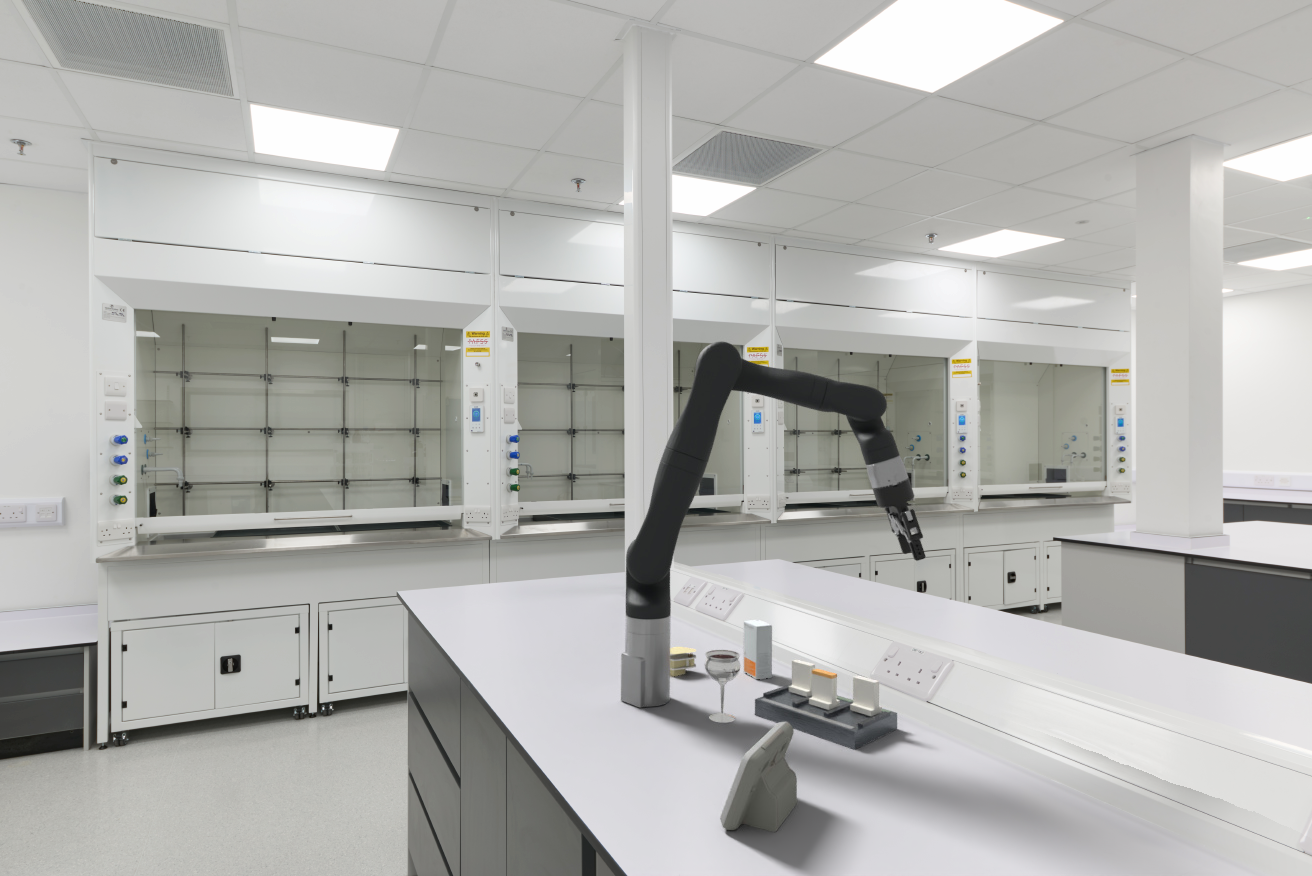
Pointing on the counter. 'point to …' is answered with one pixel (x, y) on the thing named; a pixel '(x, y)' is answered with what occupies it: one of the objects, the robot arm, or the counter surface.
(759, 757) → the digital clock
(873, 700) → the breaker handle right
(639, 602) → the robot arm
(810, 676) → the breaker handle left
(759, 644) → the skincare box
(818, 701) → the breaker handle
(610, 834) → the counter surface
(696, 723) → the counter surface
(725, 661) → the wineglass
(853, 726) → the breaker panel
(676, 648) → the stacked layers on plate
